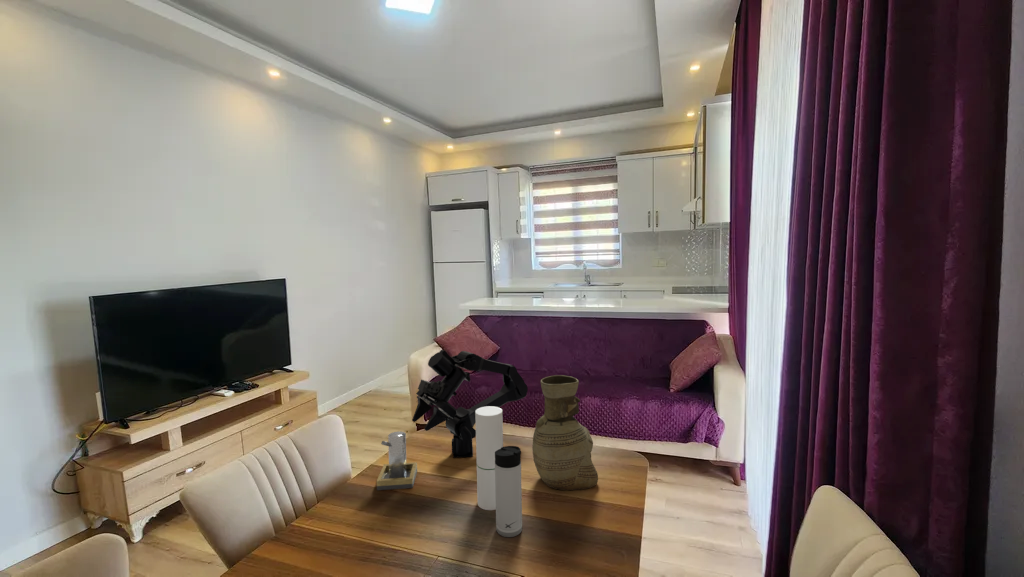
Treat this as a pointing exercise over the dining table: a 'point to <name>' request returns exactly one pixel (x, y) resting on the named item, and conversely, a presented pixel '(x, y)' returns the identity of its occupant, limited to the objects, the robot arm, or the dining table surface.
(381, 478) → the plate
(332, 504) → the dining table surface
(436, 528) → the dining table surface
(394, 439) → the spout can
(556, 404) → the ceramic vessel
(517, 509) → the travel mug
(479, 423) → the cylindrical container
